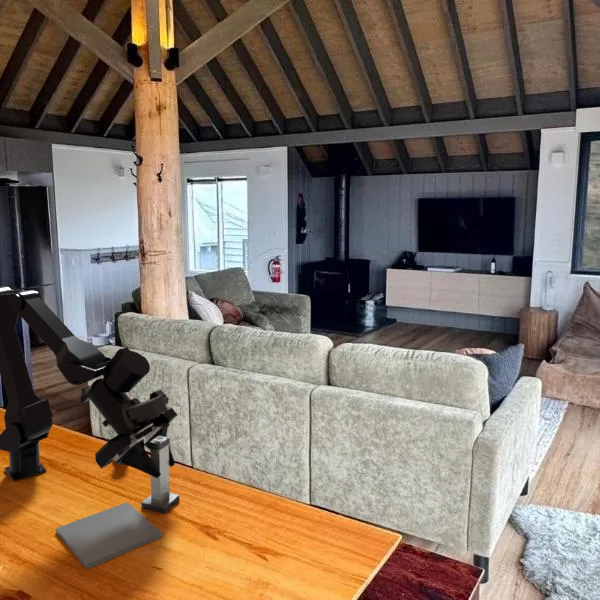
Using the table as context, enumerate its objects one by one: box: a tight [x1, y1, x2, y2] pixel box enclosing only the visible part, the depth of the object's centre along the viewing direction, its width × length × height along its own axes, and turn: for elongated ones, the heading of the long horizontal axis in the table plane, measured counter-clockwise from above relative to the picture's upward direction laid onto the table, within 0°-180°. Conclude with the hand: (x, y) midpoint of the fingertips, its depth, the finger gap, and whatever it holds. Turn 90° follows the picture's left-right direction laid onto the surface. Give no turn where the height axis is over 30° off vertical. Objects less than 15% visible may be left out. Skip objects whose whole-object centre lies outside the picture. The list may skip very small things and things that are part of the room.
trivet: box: [55, 501, 163, 570], centre depth 95 cm, size 13×13×1 cm
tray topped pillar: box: [140, 436, 180, 515], centre depth 103 cm, size 5×5×13 cm
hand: (166, 470), depth 103 cm, fingers open, 4 cm apart
